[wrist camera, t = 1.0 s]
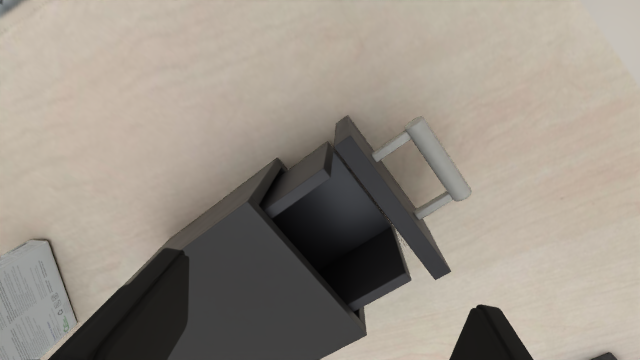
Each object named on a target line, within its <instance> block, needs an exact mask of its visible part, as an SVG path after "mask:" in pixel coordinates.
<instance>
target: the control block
mask: <svg viewBox="0 0 640 360" xmlns="http://www.w3.org/2000/svg"><path fill="white" fill-rule="evenodd" d="M592 360H617V359H616V358H615V357H614V356H613V355H612V354H611V353H607V354H605V355H602V356H600V357H597V358H595V359H592Z"/></svg>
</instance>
